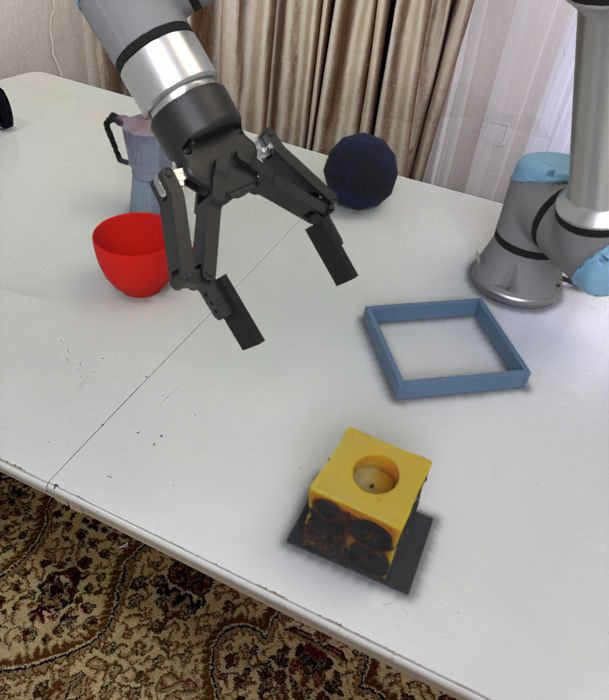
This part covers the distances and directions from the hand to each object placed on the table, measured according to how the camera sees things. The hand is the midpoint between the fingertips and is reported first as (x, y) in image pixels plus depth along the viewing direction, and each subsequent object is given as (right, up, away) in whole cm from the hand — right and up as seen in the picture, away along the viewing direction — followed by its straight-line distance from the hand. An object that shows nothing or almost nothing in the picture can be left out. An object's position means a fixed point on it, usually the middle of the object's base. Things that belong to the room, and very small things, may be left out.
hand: (304, 311), depth 58 cm
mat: (+6, -24, +12) cm, 28 cm away
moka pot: (-29, +23, +62) cm, 72 cm away
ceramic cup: (-25, +6, +44) cm, 51 cm away
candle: (+6, -24, +12) cm, 27 cm away
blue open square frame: (+21, -4, +36) cm, 42 cm away
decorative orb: (+11, +26, +70) cm, 75 cm away
